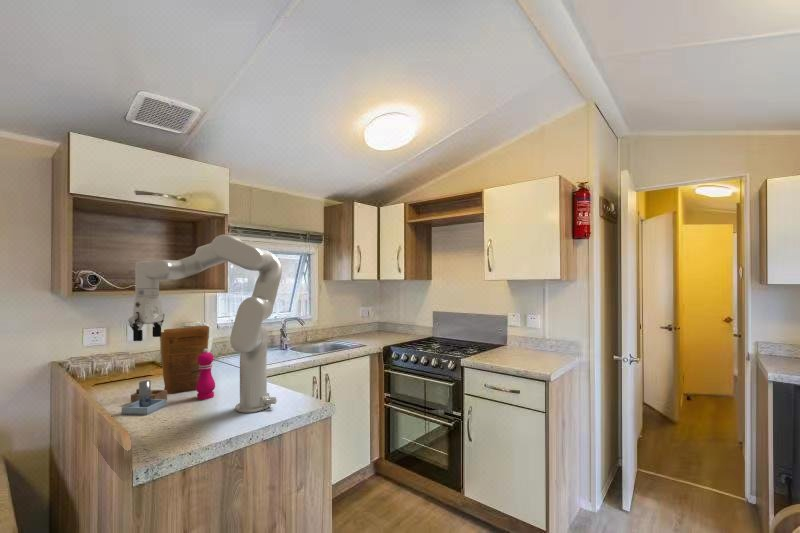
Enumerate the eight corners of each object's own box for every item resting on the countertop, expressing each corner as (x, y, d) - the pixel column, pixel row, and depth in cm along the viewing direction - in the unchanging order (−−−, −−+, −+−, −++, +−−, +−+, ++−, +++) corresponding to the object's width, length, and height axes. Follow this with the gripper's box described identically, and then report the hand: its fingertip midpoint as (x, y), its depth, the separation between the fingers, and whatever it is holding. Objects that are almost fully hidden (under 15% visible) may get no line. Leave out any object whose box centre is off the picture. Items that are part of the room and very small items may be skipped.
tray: (166, 405, 151) (166, 399, 151) (147, 414, 141) (147, 407, 141) (142, 405, 152) (142, 398, 152) (121, 414, 142) (121, 407, 142)
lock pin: (152, 406, 148) (152, 380, 148) (145, 410, 144) (145, 382, 144) (144, 406, 148) (143, 380, 148) (136, 409, 144) (136, 382, 145)
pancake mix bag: (210, 389, 173) (210, 325, 174) (159, 396, 163) (159, 329, 164) (209, 385, 179) (209, 324, 179) (160, 392, 169) (160, 327, 170)
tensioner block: (167, 399, 158) (167, 385, 158) (154, 405, 151) (154, 389, 151) (144, 399, 159) (144, 384, 159) (130, 405, 152) (130, 389, 152)
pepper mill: (219, 395, 163) (219, 347, 164) (206, 400, 156) (206, 350, 157) (204, 394, 165) (204, 346, 166) (191, 399, 158) (191, 349, 159)
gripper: (139, 294, 139) (139, 342, 138) (172, 292, 156) (172, 335, 156) (119, 294, 139) (120, 342, 139) (154, 292, 157) (154, 335, 156)
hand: (147, 338), depth 147 cm, fingers open, 9 cm apart
